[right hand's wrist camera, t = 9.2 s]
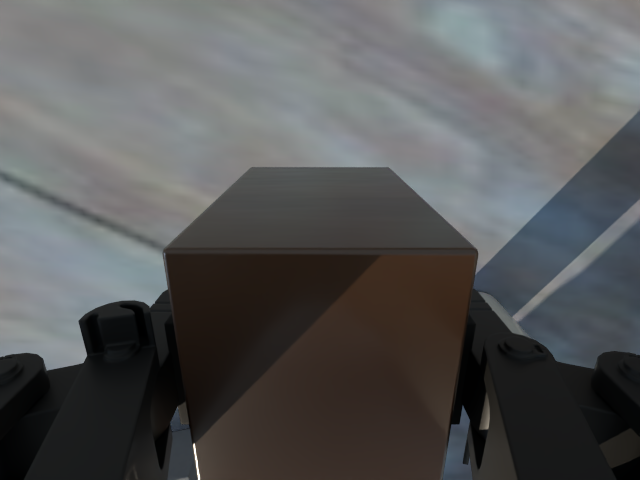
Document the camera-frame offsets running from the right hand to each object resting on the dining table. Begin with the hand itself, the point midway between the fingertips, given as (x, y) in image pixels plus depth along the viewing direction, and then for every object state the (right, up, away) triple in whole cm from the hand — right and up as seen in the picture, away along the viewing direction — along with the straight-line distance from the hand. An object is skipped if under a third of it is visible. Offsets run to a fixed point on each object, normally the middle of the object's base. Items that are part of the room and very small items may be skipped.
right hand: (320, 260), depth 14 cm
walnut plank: (0, -8, +3) cm, 9 cm away
